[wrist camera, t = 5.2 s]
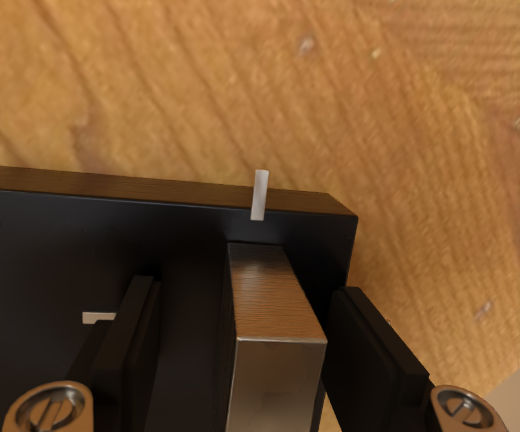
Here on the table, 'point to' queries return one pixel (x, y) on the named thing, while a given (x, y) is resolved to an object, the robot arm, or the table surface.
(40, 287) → the panel
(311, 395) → the hob knob
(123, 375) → the robot arm
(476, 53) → the table surface
